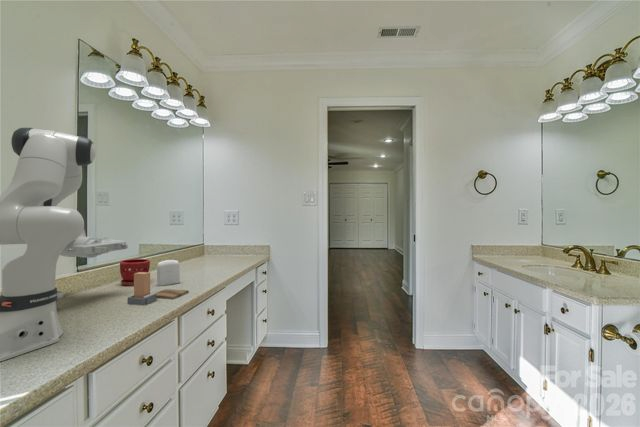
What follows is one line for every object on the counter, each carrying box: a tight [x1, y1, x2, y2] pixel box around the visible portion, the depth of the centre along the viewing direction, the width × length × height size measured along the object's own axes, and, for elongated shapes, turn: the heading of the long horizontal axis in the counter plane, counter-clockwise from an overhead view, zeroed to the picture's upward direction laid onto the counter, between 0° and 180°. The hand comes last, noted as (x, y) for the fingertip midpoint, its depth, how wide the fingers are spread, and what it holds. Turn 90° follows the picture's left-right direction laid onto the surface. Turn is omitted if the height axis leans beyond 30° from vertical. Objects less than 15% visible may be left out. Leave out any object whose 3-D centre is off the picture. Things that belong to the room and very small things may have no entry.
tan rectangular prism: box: [133, 272, 151, 298], centre depth 122 cm, size 3×5×12 cm, turn 78°
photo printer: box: [156, 259, 181, 287], centre depth 151 cm, size 10×4×12 cm, turn 127°
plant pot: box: [119, 258, 151, 286], centre depth 153 cm, size 13×13×12 cm
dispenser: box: [127, 291, 158, 306], centre depth 122 cm, size 7×9×4 cm
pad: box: [156, 288, 190, 300], centre depth 132 cm, size 10×12×1 cm
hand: (116, 248), depth 124 cm, fingers open, 8 cm apart
